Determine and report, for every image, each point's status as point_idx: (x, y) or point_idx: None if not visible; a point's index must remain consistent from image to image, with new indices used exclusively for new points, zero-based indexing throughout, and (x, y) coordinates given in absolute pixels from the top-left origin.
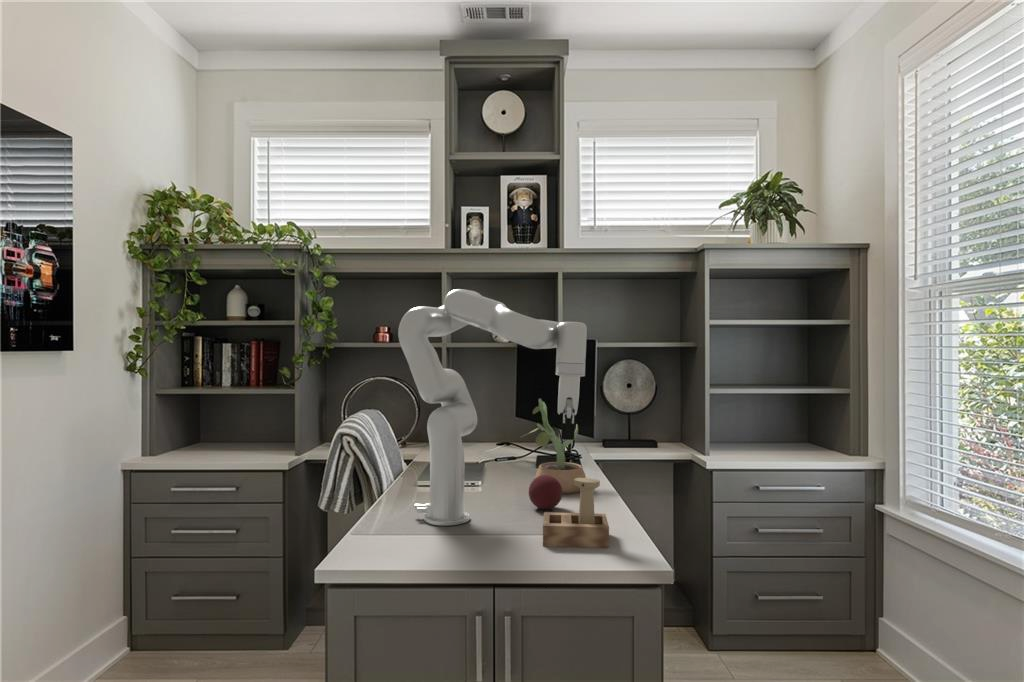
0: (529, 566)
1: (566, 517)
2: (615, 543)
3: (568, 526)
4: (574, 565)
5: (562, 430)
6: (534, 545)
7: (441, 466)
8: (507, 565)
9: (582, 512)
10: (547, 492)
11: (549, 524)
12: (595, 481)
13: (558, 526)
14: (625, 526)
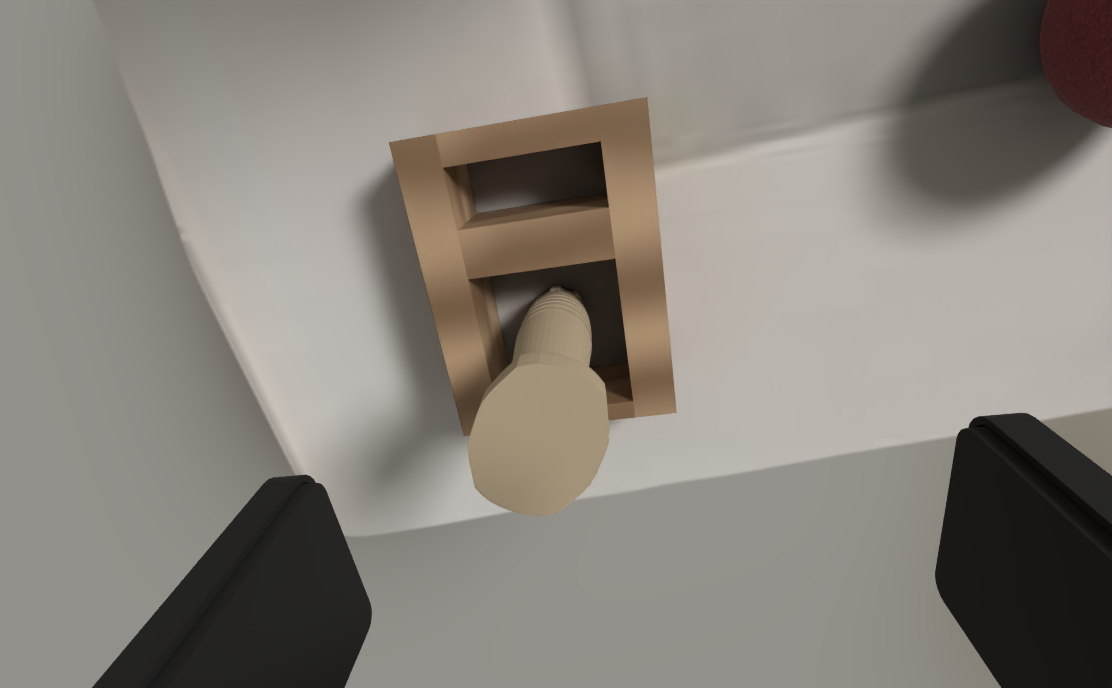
0: (167, 129)
1: (569, 241)
2: None
3: (422, 270)
4: (255, 295)
5: (191, 595)
6: (417, 96)
7: None
8: (132, 30)
9: (518, 339)
10: (1089, 38)
11: (420, 173)
12: (512, 493)
13: (409, 222)
14: (772, 442)
